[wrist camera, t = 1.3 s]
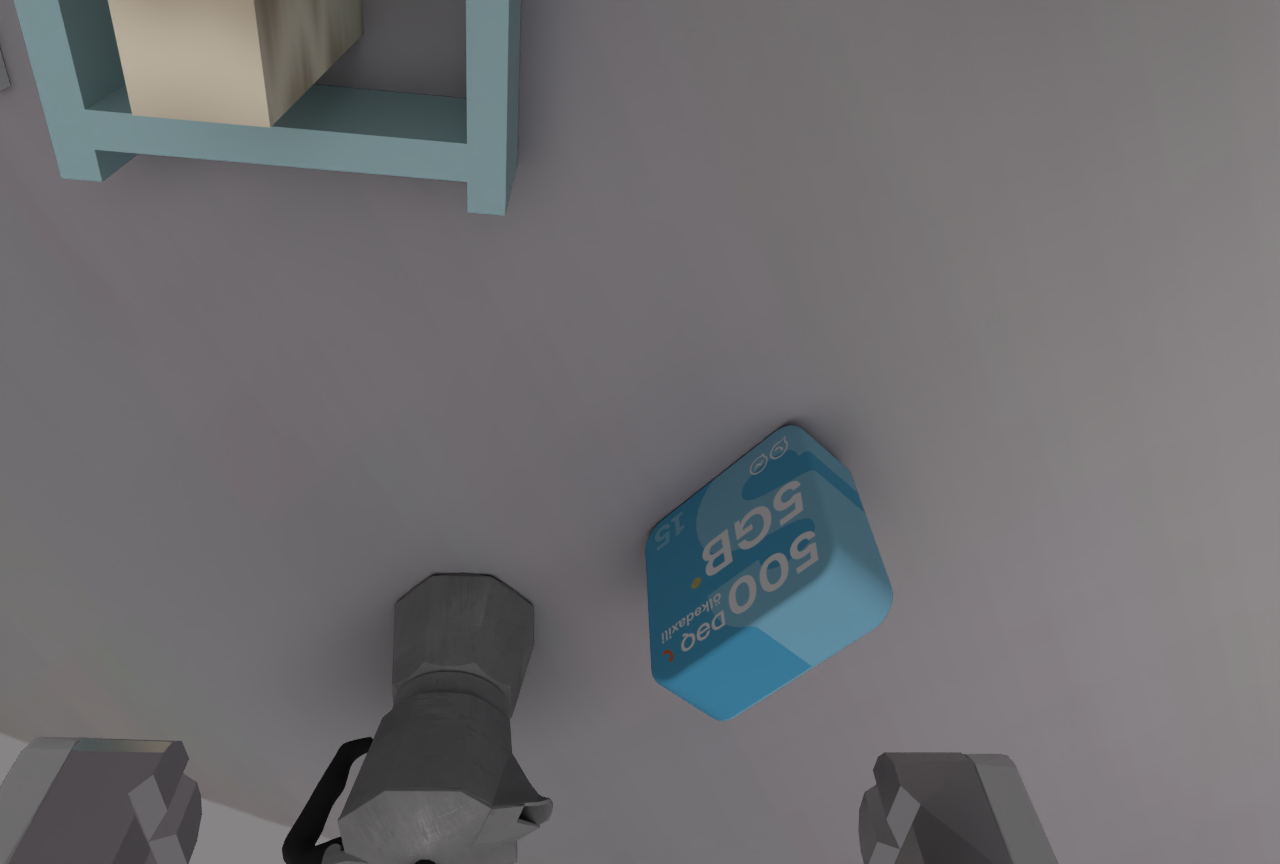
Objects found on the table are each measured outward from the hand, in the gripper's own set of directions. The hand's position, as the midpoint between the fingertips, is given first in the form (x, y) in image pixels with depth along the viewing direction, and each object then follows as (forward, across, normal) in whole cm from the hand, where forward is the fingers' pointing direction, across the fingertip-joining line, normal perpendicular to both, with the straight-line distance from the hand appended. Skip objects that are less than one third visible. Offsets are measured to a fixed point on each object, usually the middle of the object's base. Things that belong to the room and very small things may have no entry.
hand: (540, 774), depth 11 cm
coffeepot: (+35, +7, +35) cm, 50 cm away
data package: (+35, -10, +23) cm, 43 cm away
